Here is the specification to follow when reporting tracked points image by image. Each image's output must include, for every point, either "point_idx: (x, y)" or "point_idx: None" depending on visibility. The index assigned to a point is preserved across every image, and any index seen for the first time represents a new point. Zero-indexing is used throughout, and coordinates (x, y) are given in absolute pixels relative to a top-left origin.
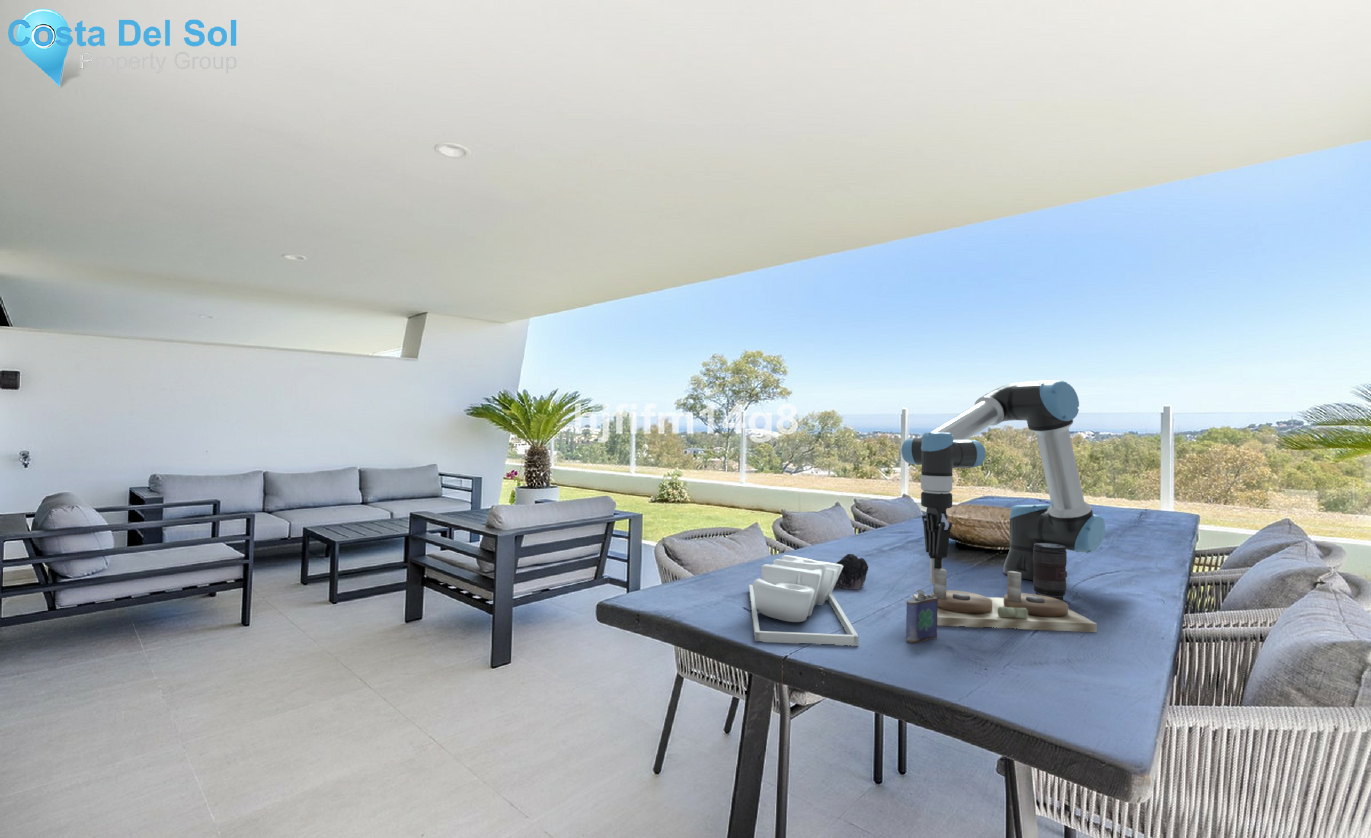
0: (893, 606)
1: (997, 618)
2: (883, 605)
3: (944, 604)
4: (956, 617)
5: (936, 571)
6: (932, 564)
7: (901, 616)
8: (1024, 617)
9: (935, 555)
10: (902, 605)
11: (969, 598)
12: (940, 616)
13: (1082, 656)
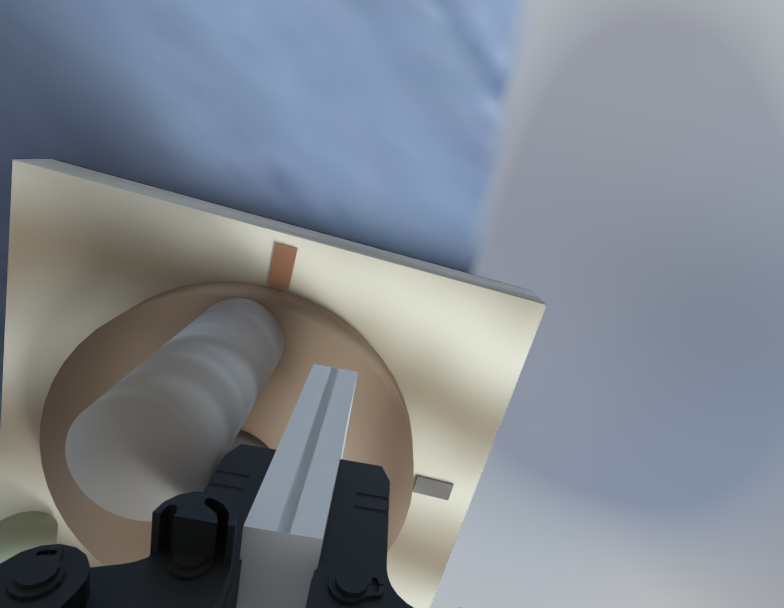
0: (464, 96)
1: (19, 488)
2: (500, 30)
3: (144, 303)
4: (15, 276)
5: (109, 395)
6: (268, 473)
7: (241, 19)
8: None
9: (142, 586)
10: (475, 176)
11: None
12: (29, 185)
13: None
